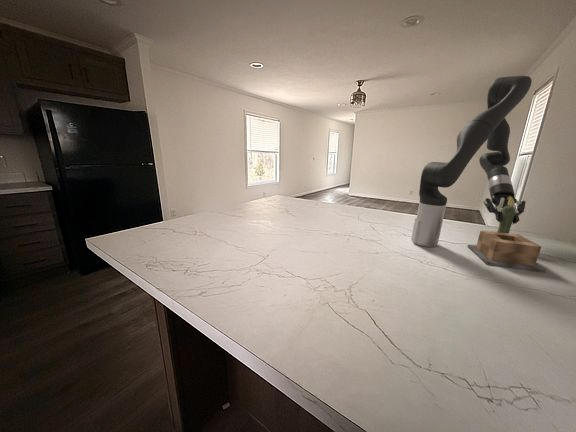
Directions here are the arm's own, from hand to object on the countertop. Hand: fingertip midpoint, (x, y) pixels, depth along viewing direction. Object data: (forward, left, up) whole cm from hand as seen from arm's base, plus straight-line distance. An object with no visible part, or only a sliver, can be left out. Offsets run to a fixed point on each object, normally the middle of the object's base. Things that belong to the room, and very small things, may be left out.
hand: (508, 221), depth 92 cm
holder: (-6, -14, -11) cm, 19 cm away
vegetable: (0, +2, -10) cm, 10 cm away
